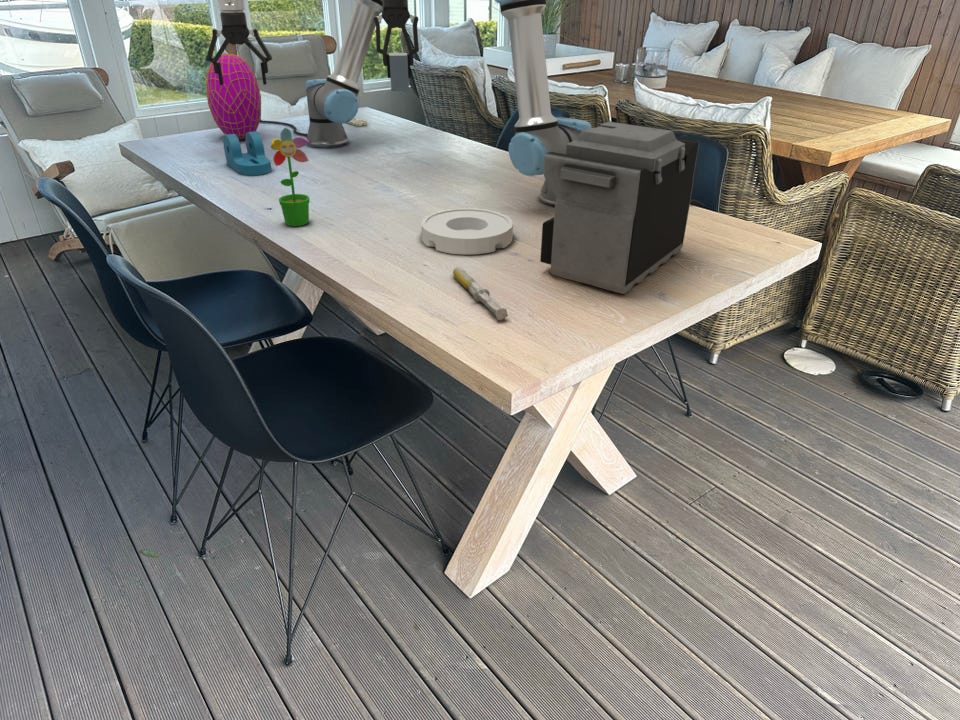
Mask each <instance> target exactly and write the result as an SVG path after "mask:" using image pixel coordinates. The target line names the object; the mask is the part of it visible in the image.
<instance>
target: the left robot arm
mask: <svg viewBox="0 0 960 720" xmlns="http://www.w3.org/2000/svg"><path fill="white" fill-rule="evenodd" d="M244 1H245V0H217V4H218V9H219V11H221V12H220V13H219V14H220V15H219V16H220V23H221V29H218V28H213V29H212V30H211V34H212V37H211V40H210V44H209V47H208V50H207V53H206V57H205V60H206V61H207V62H210V63H211V62H212V63H213V66H214V72H215V74H218V76H219V82H220V85H223V84H224V82H223V76H222V70H221V64H220V62H217V61H218V60H219V58H220V57H221V55H222V54H224V52H225V50H226V49H227V47H228V46H229V44H230V45H232V46H234V45H239V46H240V45H241V46H242V45H246V46H247V47H248V48H249V49H250V51H252V52H253V54H255V56H256V57H257V58H258V59H260V61H261V62H260V64H259V65H260V71H261V78H262V84H263V85H264V86H265V85H267V77H266V76H267V75H266V74H269V66H268V62H270V61H272V60H273V56H272V54H271V53H270V51H269V49H268V47H267V46H266V44H265V42H264V41H263V39H262V38H261V36H260V32H259V29H258V28H254V29H249V27H248V24H247V23H248V22H247V15H246V13H245V10H246V9H245V2H244ZM354 1H355V3H354V7H353V9H352V13H351V17H350V20H349V22H348V26H347V29H346V32H345V35H344V38H343V42H342V45H341V48H340V51H339V54H338V57H337V60H336V63H335V67H334V69H333V72H332V73H331V74H328V75H327V76H326V78H318V79H308V80H307V81H306V82H305V93H306V101H307V110H308V111H307V112H308V119H309V120H308V121H309V125H308V129H307V133H304V132H299V131H297V127H296V126H295V125H294V124H292V123H288V122H283V121H275V120H263V119H260V123H262V124H263V123H264V124H274V125H275V124H276V125H281V126H288V127H291V128H292V129H293V133H294V134H295V135H298V136H302V137H306V139H307V140H308V141H309V143H307V144H306V145H307V146H308V147H311V148H318V149H333V148H339V147H343V146H346V145H348V144H349V139H348V138H349V137H348V135H347V132H346V130H345V127H344V125H343V124H348V123H347V122H349V121H351V120H352V119H353V118H356V116H357V114H358V111H359V100H358V95H359V93H360V87H359V85H358V81H359V77H360V75H361V72H362V70H363V66H364V63H365V60H366V57H367V54H368V50H369V49H370V45H371V42H372V39H373V36H374V32H375V31H376V24H375V22H374V16H379V15H381V14H382V12H383V2H382V0H354ZM221 35H222V37H223V38H224V39H225V40H224V41H223V43H222V44H221V46H220V48H219V49H218V50H217V52H216V53H215V56H214V57H213V55H214V51H215V48H216V45H217V42H218V39H219V37H221ZM250 35H251V36H252V37H253V38H254V39H255V41H256V42H257V44H258V45H259V47H260V49H261V50H262V52H263V53H262V52H261V51H260V50H259V49H258V48H257V47H256V45H254V44H253V43H252V41H251V40H250V39H249V36H250Z"/></svg>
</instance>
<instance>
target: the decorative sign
mask: <svg viewBox="0 0 960 720" xmlns="http://www.w3.org/2000/svg"><path fill="white" fill-rule="evenodd" d="M346 124H349V125H352V126H356V127H363V126H365V127H366V126H367V124H368V121H367V120H364V119H357V118H356V117H354V118H353V119H352V120H351V121H349V122H347V123H346Z"/></svg>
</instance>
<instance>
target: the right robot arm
mask: <svg viewBox="0 0 960 720" xmlns="http://www.w3.org/2000/svg"><path fill="white" fill-rule="evenodd" d="M494 1H495V2H496V3H497V4H499V10H500V15H501V16H503V17H504V18H505V19H506V20H507V26H508V27H507V28H508V34H509V43H510V50H511V59H512V60H511V61H512V70H513V76H514V77H513V78H514V86H515V93H516V94H515V95H516V103H517V112H518V120H517V122H516V123H515V124H514V133H515V134H514V135H513V137H511V139H510V142H509V144H508V156H509V159H510V162H511V164H512V165H513V167H514V168H515V169H516V170H517V171H518V172H519V173H520V174H522V175H524V176H527V177H535V176H542V175H543V176H544V162H545V154H547V153H549V152H556V153H562V154H566V144H568V143H570V142H573V141H575V140H577V138H578V137H579V135H580V134H581V132H582V131H583V130H586V129H589V128H592V124H591V122H589V121H587V120H583V119H578V118H571V117H569V118H568V117H556V116H554V115H553V114H552V110H551V109H552V108H551V100H550V91H549V80H548V79H549V78H548V69H547V59H546V49H545V39H544V30H543V29H544V28H543V20H542V19H543V18H542V14H543V12H544V11H545V9H546V8H547V0H494ZM382 2H383V12H382V13H381V14H380V15H379V16H374V22H375V24H376V27H375V46H376V53H378V54H381V55H382V65H383V67H386V71H387V72H386V73H387V79H390V62H389V54H388V48H389V43H390V39H391V34H392V30H393V29H401V32H402V36H403V38H404V41H405V45H406V48H407V51H408V53H406V54H407V57H408V79H409V78H411V66H412V67H413V66H414V54H416V53H419V51H420V47H419V33H418V23H419V17H418V16H417V15H413V14H411V13H410V11H409V0H382ZM382 19H383V21H384V23H386V26H387V27H386V32H385V37H384V42H383V46H382V48H381V24H382ZM409 19H410V23H411V24H412V35H413V36H412V37H413V47H412V44H411V41H410V38H409V37H410V36H409V34H408V31H407V27H406V24H407V22H408V21H409ZM556 198H557V197H556V196H555V194H554V192H553V191H552V189H551V187H550V186H549V184H548V182H547V181H546V179H545V178H544V181H543V184H542V187H541V189H540V192H539V200H540V202H542V203H543V204H546V205H549V206H553V207H555V202H556ZM692 203H693V204H697V205H698V206H699V207H702V208H704V207H705V205H704V204H703V203H702V202H701V201H699V200H697V199H691V200H690V204H692Z"/></svg>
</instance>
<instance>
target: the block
mask: <svg viewBox="0 0 960 720" xmlns="http://www.w3.org/2000/svg"><path fill="white" fill-rule="evenodd" d="M387 54H389V62H390V78H389V87H390V91H391V92H409V91H410V83H409V82H410V79H409V78H408V57H407V54H408V53H407V52H389V53H388V52H387Z"/></svg>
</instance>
